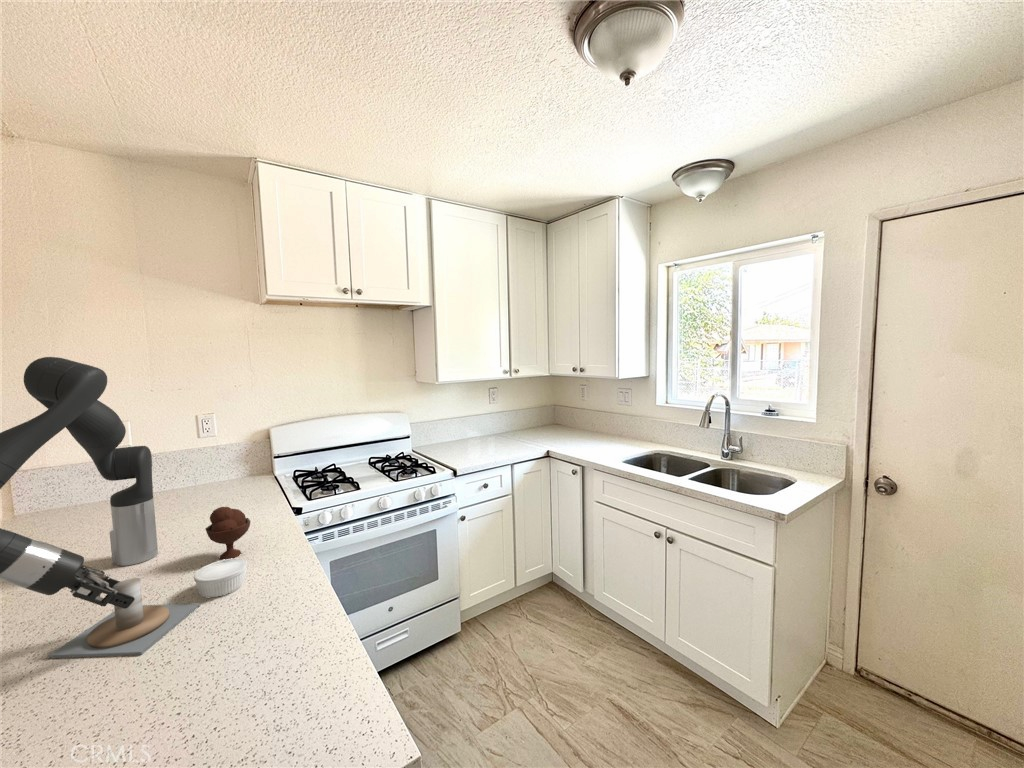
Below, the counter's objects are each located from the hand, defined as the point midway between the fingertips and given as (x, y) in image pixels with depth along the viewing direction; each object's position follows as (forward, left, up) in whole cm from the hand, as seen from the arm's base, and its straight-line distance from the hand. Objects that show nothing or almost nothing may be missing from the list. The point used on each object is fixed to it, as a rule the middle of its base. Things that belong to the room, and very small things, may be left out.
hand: (126, 596), depth 89 cm
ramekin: (+9, +16, -8) cm, 20 cm away
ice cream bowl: (0, +33, -8) cm, 34 cm away
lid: (0, 0, -7) cm, 7 cm away
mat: (0, 0, -8) cm, 8 cm away
